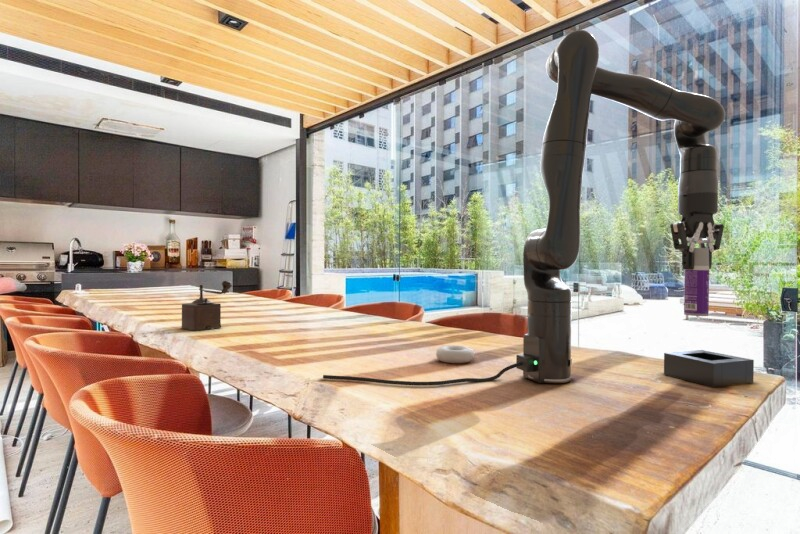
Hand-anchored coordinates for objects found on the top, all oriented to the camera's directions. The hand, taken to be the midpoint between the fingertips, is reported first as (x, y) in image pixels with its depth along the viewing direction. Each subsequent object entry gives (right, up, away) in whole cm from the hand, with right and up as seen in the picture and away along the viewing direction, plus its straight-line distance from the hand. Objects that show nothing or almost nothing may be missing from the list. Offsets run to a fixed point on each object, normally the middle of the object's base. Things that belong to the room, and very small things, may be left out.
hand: (696, 268), depth 107 cm
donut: (-52, -24, +17) cm, 60 cm away
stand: (+2, -24, -1) cm, 25 cm away
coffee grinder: (-140, -23, +75) cm, 160 cm away
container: (0, -11, 0) cm, 11 cm away
